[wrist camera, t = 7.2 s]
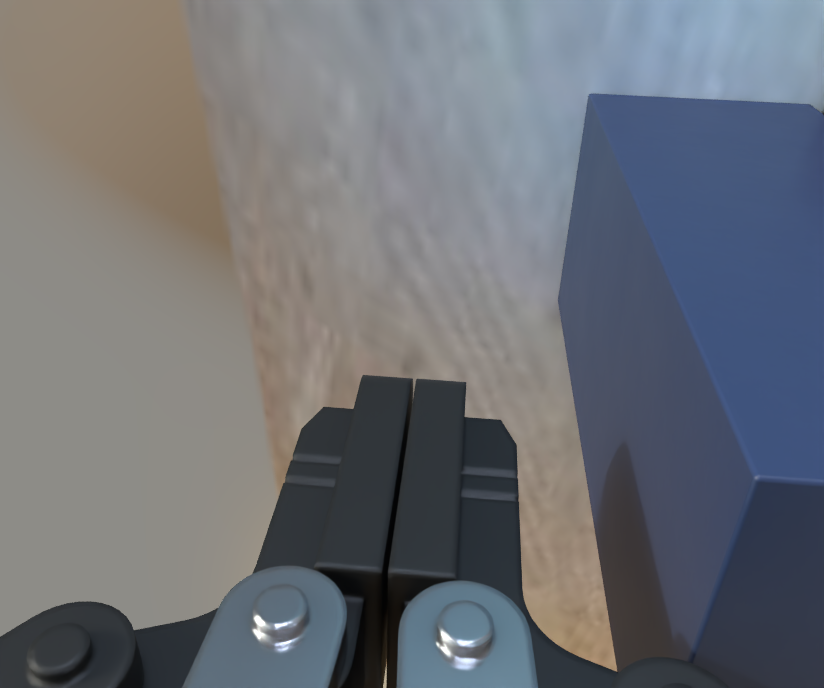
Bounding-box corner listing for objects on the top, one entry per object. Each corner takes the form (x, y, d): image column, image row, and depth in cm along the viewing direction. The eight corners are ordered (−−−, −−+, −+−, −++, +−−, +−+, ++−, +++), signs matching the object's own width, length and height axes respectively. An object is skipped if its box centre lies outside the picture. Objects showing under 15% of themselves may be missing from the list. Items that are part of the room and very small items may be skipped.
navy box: (557, 300, 21) (637, 804, 10) (589, 92, 18) (755, 478, 7) (746, 313, 20) (1051, 845, 9) (810, 103, 17) (1366, 524, 6)
